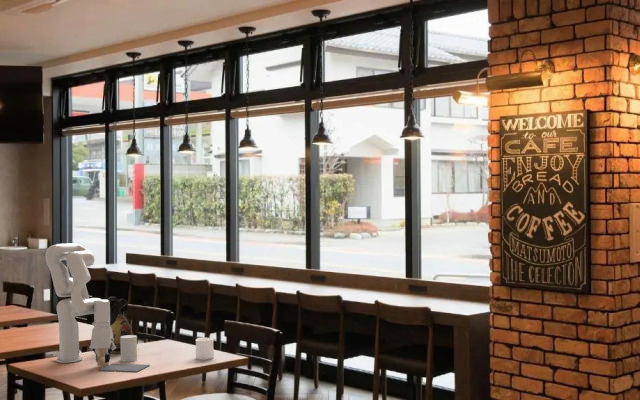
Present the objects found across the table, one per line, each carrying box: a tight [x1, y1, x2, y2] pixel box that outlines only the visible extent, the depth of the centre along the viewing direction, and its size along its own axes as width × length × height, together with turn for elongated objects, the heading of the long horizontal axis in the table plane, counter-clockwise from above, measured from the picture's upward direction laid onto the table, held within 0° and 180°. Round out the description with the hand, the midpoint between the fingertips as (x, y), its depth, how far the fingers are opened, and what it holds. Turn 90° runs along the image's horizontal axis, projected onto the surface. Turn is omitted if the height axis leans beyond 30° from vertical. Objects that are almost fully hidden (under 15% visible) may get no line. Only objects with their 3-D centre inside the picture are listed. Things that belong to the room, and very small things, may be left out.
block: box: [96, 349, 110, 368], centre depth 387 cm, size 4×4×10 cm
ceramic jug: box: [106, 296, 134, 354], centre depth 423 cm, size 17×15×30 cm
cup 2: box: [195, 337, 215, 361], centre depth 403 cm, size 10×10×10 cm
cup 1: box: [120, 334, 138, 363], centre depth 401 cm, size 8×8×12 cm
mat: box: [98, 363, 151, 373], centre depth 381 cm, size 20×14×1 cm
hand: (102, 361), depth 387 cm, fingers closed on block, 4 cm apart
